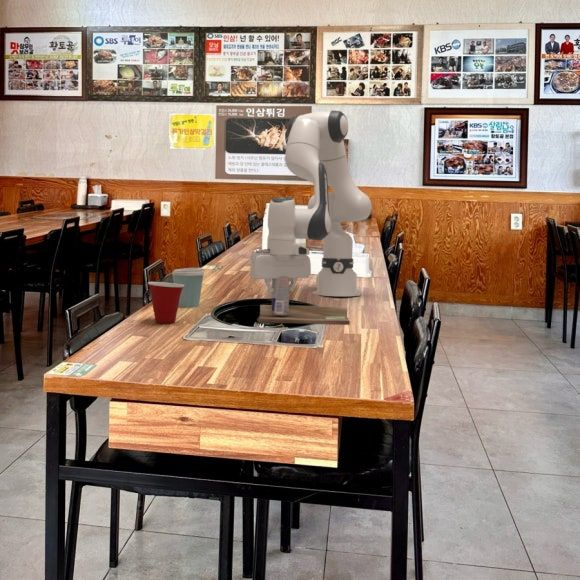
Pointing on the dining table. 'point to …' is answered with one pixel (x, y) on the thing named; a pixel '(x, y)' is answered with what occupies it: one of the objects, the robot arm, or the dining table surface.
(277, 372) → the dining table surface
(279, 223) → the robot arm
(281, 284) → the energy drink
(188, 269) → the disposable coffee cup
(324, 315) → the walnut board
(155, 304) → the plastic cup
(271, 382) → the dining table surface
